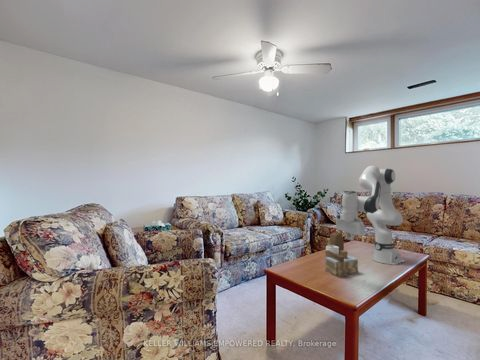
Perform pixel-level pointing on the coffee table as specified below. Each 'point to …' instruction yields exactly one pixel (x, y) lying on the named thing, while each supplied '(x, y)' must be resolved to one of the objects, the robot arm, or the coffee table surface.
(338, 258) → the bar
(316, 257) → the coffee table surface
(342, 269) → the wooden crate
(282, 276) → the coffee table surface
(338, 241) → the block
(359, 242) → the coffee table surface
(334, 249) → the cup
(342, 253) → the lid
